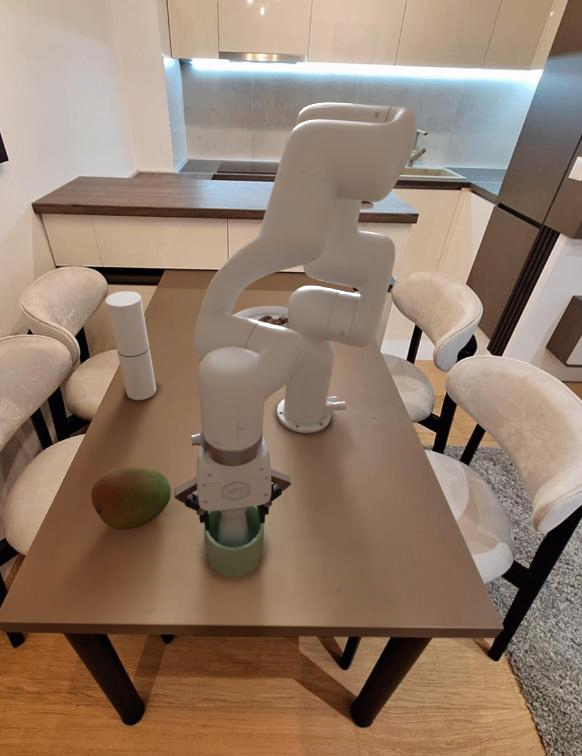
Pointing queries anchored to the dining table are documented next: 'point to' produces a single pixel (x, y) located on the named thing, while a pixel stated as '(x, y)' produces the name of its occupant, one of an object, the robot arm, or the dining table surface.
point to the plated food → (267, 315)
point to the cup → (235, 558)
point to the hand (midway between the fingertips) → (234, 518)
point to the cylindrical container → (132, 343)
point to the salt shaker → (233, 528)
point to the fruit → (130, 497)
